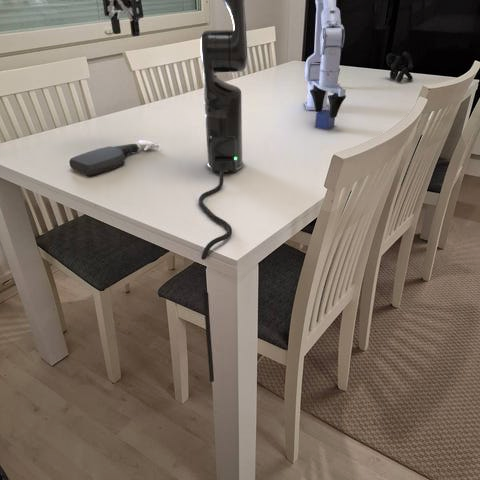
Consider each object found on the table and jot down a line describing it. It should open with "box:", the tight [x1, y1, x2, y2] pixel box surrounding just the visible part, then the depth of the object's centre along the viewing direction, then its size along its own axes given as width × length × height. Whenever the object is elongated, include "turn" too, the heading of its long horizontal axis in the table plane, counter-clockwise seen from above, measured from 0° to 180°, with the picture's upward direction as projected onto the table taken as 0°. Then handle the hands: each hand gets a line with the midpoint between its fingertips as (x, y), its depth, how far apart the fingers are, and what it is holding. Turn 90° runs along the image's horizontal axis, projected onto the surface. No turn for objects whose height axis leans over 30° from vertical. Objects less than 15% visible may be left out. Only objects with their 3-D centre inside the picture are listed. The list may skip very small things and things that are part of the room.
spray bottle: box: [68, 139, 160, 177], centre depth 124 cm, size 3×11×24 cm
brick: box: [314, 110, 336, 131], centre depth 145 cm, size 4×5×5 cm
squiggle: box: [385, 51, 414, 83], centre depth 198 cm, size 11×10×15 cm
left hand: (126, 34), depth 124 cm, fingers open, 8 cm apart
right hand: (325, 114), depth 144 cm, fingers open, 7 cm apart
